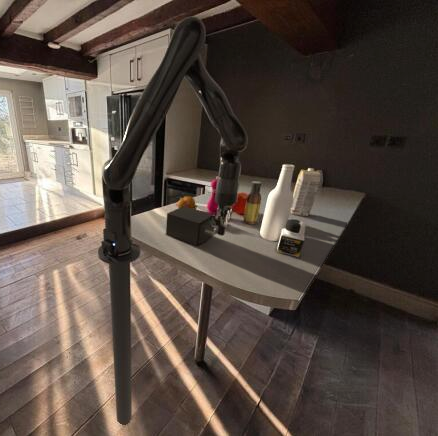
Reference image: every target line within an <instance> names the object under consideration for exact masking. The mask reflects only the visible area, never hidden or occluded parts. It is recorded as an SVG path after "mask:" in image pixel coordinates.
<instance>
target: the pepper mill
mask: <svg viewBox="0 0 438 436" xmlns="http://www.w3.org/2000/svg"><path fill="white" fill-rule="evenodd" d="M218 176H219V175H218ZM218 176H216V177H215V179H213V180H211V182H210V187H211V189H210V192H211V196H210V198H209V200H208V201H207V204H206V209H207V211H206V212H208V213H211V214H214V215H217V209H218V206H219V205H218V204H217V203H216V202H215V195H216V186H217V181H218Z"/></svg>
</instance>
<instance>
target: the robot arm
mask: <svg viewBox="0 0 438 436" xmlns="http://www.w3.org/2000/svg"><path fill="white" fill-rule="evenodd" d="M206 40H207V32H206V26H205V24H204V22H203V21H202V19H200V18H199V17H197V16H188V17H185V18H183V19H182V20H180V21H179V22H178V23H177V24H176V25H175V27H174V28H173V32H172V34H171V36H170V39H169V42H168V46H167V48H166V51H165V53H164V55H163V57H162V60H161V62H160V64H159V66H158V68H157V69H156V70H155V72H154V74H153V76H152V77H151V78H150V80H149V81H148V83H147V85H145V88H144V89H143V91H142V93H141V94H140V96H139V98H138V100H137V102H136V104H135V106H134V108H133V110H132V112H131V115H130V117H129V121H128V123H127V126H126V129H125V134H124V137H123V139H122V143H121V144H120V146H119V148H118V149H117V151H116V153H115V155H114V157H112V158H109V159H107V160H106V161H105V162H104V163H103V165H102V168H101V186H102V199H103V211H104V228H103V230H102V235H103V240H102V241H101V246H102V249H103V254H104V256H106V253H107V254H109V255H110V256H112V257H114V258H117V257H123V256H126V255H128V254H130V253H131V251H132V243H133V239H132V198H131V190H130V185H131V184H132V182H133V180H134V177H135V175H136V172H137V170H138V168H139V165H140V163H141V160H142V158H143V156H144V154H145V153H146V151H147V150H148V148H149V146H150V144H151V143H152V141H153V140H154V137H155V136H156V134H157V132H158V131H159V129H160V127H161V126H162V124H163V122H164V120H165V118H166V116H167V115H168V112H169V110H170V108H171V106H172V104H173V102H174V100H175V98H176V95H177V93H178V91H179V88H180V85H181V84H182V81H183V79H184V78H185V79H186V80H187V82H188V83H189V85H190V86H191V88H192V89H193V92H194V93H195V94H196V96H197V98H198V99H199V103H201V105H202V107H203V109H204V111H205V113H206V116H207V117H208V119H209V121H210V123H211V125H212V126H213V128H214V129H216V130H217V131H218V133H219V135H220V142H219V162H220V163H219V167H218V168H219V169H218V181H217V186H216V195H215V202H216V203H217V204H218V205H219V206H218V209H217V215H214V220H215V226H216V227H218V233H217V235H218V236H224V235H225V234H226V227H227V225H228V223H230V220H231V218H232V215H233V213H234V212H233V210H234V208H231V207H232V205H235V204H236V203H237V197H238V193H239V190H240V182H241V181H240V179H241V173H242V172H241V171H242V162H241V160H240V153H242V152H243V151H245V149H246V148H247V147H248V144H249V136H248V133H247V131H246V129H245V128H244V126H243V125H242V123H241V122H240V120H239V119H238V117H237V116H236V115H235V112H234V110H233V108H232V105H231V103H230V101H229V100H228V97H227V95H226V93H225V92H224V90H223V89H222V88H221V87H220V85H219V84H218V83H217V82H216V81H215V80H214V78H213V77H212V76H211V75H210V73H209V72H208V71H207V69H206V67H205V65H204V62H203V60H202V56H201V52H202V51H203V50H204V47H205V45H206Z"/></svg>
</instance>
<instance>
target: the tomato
mask: <svg viewBox="0 0 438 436" xmlns="http://www.w3.org/2000/svg"><path fill="white" fill-rule="evenodd" d="M249 194H250V193H246V192H238V197H237V203H236V204H235V205H232V207H231V208H234V210H233V213H235V214H240V215H244V212H245V206H246V200H247V197H248V196H249Z"/></svg>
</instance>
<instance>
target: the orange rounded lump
mask: <svg viewBox="0 0 438 436" xmlns="http://www.w3.org/2000/svg"><path fill="white" fill-rule="evenodd" d="M183 206H185V207H189V208H193V209H196V210H198V207H199V206H198V205H197V204H196V200H195V198H194V197H192V196H189V195H187V196H185V195H184V196H182V197H181V198H180V199H179V200H178V202H177V204H176V207H177V209H178V208H180V207H183Z"/></svg>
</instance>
